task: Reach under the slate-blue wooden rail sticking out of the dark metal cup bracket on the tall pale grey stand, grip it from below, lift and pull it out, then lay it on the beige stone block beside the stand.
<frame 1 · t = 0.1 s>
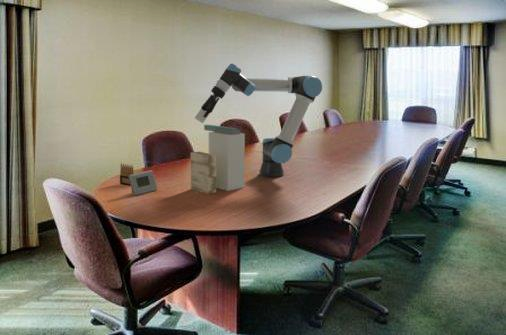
hand: (198, 120, 251), 36 cm above the table, tool tilted 35°, fingers open, 13 cm apart
ammunition clip: (127, 185, 253), on the table
rail: (220, 131, 251), point 30 cm above the table, touching grey stand
digital clock: (143, 193, 238), on the table
grey stand: (226, 186, 253), on the table
beige stone block: (203, 190, 244), on the table
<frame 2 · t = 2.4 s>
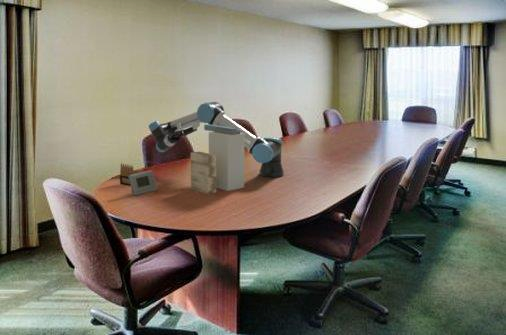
hand: (189, 124, 269), 32 cm above the table, tool pointing upward, fingers open, 13 cm apart
nothing on the table moved.
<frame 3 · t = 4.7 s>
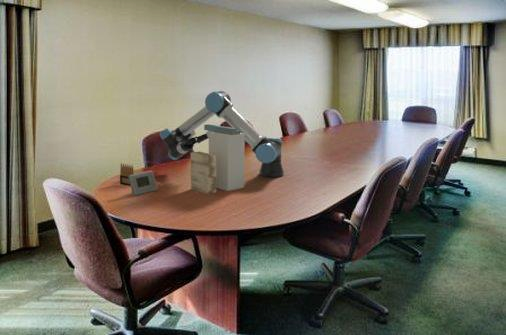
hand: (204, 131, 260), 29 cm above the table, tool pointing upward, fingers open, 13 cm apart
nothing on the table moved.
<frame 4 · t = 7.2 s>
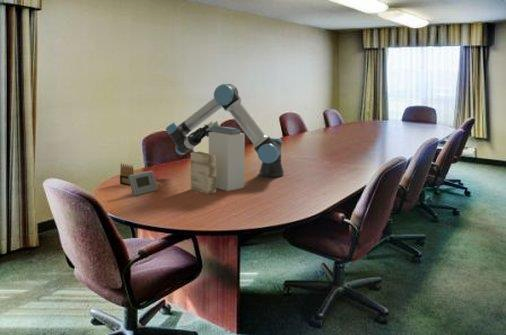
hand: (214, 123, 253), 34 cm above the table, tool pointing upward, fingers closed on rail, 3 cm apart
rail: (220, 131, 251), point 30 cm above the table, touching grey stand, gripper
everything else where it was.
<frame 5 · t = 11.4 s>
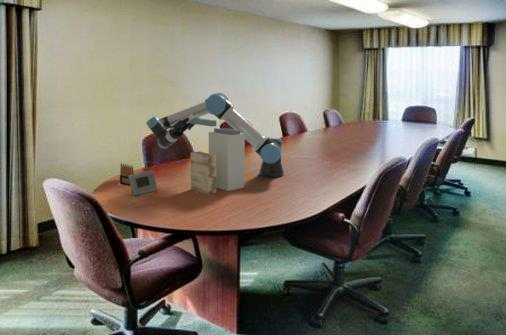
hand: (195, 115, 248), 39 cm above the table, tool pointing upward, fingers closed on rail, 3 cm apart
rail: (200, 124, 246), point 34 cm above the table, touching gripper
everything else where it was.
when the fingers open (25 cm above the table, at t = 15.6 s): rail stays where it is, resting on beige stone block.
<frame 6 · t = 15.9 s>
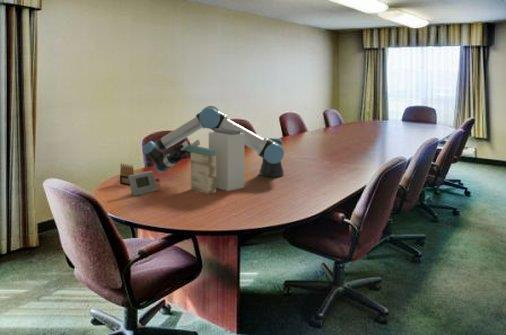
hand: (193, 142, 245), 25 cm above the table, tool pointing upward, fingers open, 7 cm apart
rail: (198, 152, 242), point 20 cm above the table, touching beige stone block
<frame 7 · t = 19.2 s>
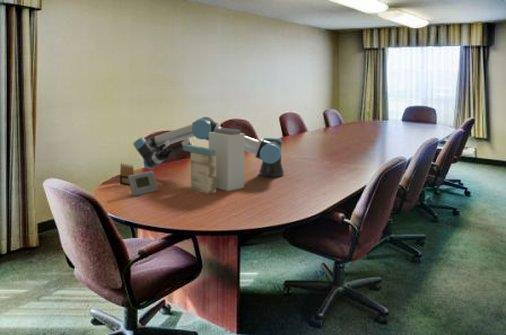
hand: (178, 141, 254), 24 cm above the table, tool pointing upward, fingers open, 13 cm apart
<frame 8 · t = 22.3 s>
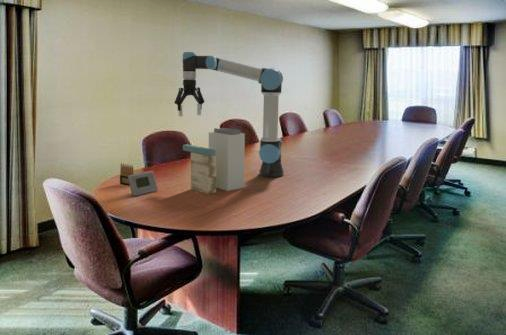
hand: (190, 115, 270), 37 cm above the table, tool pointing down, fingers open, 13 cm apart
at the end: rail 0.5 cm from the target spot on the beige stone block, point 20.0 cm above the beige stone block's base; rail tilted 0°; the gripper is holding nothing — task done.
